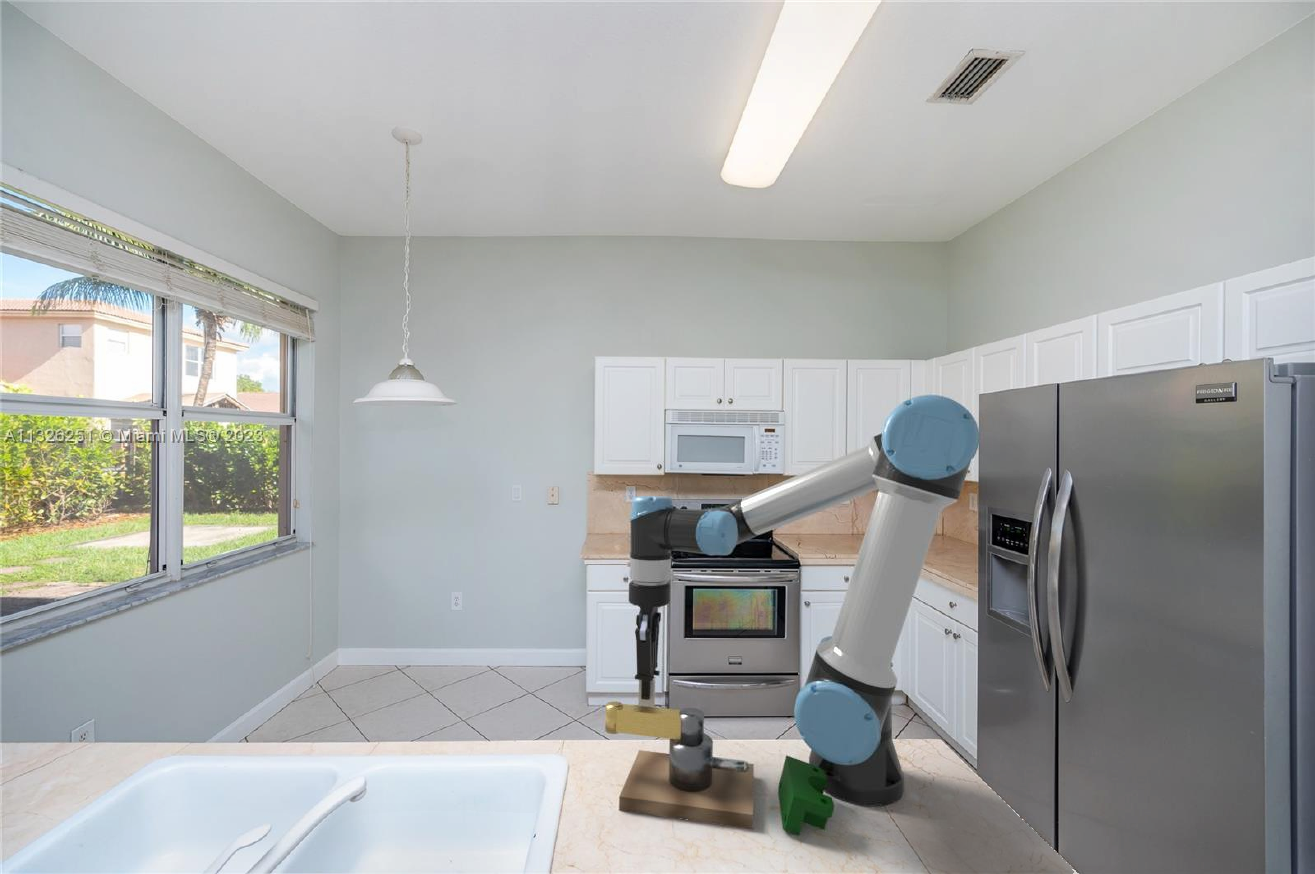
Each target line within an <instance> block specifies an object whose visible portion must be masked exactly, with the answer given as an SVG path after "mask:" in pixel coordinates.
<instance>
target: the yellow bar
mask: <svg viewBox="0 0 1315 874" xmlns="http://www.w3.org/2000/svg"><path fill="white" fill-rule="evenodd" d="M604 722H605V723H604V724H605V725H604V731H605V733H608V734H612V735H616V734H627V735H636V736H644V737H653V738H660V739H661V738H662V739H668V740H670V739H677V740H680V741H681V742H682V743H684V744H688V745H697V744H700V743H702V742H703V740H704V732H705V731H704V729H705V727H704V726H705V712H704V711H703V710H701V709H699V708H695V707H685V708H682V709H672V708H665V707H657V706H655V707H647V706H638V705H637V704H626V703H622V702H619V701H609V702H607V703H606V705H605V721H604Z"/></svg>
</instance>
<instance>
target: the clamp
mask: <svg viewBox="0 0 1315 874" xmlns="http://www.w3.org/2000/svg"><path fill="white" fill-rule="evenodd" d="M826 781H827V779H826V776H825V773H824V771H823V770H822V769H821V768H819V767H817V766H815V765H812V764H809V762H806V761H804V760H800V759H799V758H796V757H792V756H789V755H786V756H785V759H784V763H783V766H782V771H781V774H780V779H779V781H778V782H779V783H778V789H777V790H778V791H777V793H778V800H779V801H778V802H779V811H780V817H781V825H782V830H783V831H786V832H789V833H791V834H793V835H797V836H799V835H800V834H801V831H802V828H803V824H806V825H809V826H812V827H814V828H817V829H818V830H819V829H820V830H826V826H827V822H828V819H831V818H832V817H833V813H834V809H835V802H834V800H833V797H832V796H828V795H827V794H824V792H825V791H824V789H825V785H826Z"/></svg>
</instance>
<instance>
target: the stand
mask: <svg viewBox="0 0 1315 874" xmlns="http://www.w3.org/2000/svg"><path fill="white" fill-rule="evenodd" d="M747 763H748V762H747ZM748 764H749V770H748V771H747V772H737V771H729V770H721V769H713V768H712V784H711V786H710V787H709V788H707V789H706V790H703V791H699V792H686V791H682V790H679V789H677V788H675V787H674V786H672V785H671V783H670V782H669V753H666V752H656V751H650V750H641V749H639V750H638V752H637V755H636V757H635V759H634V762H633V764H632V766H631V769H630V771H629V773H628V775H627V778H626V780H625V782H624V784H623V787H622V790H621V791H620V795H619V797H618V800H619V801H618V802H619V803H618V810H619V811H623V812H630V813H636V814H637V813H638V814H644V815H651V816H657V817H658V816H659V817H664V818H673V819H677V818H678V820H679V818H682V819H681V820H684V819H688V820H687V821H691V820H692V822H693V821H694V822H698V821H699V823H705V822H708V823H707V824H714V825H721V826H727V827H734V828H741V829H748V830H753V829H754V779H755V778H754V771H755V769H754V763H748Z"/></svg>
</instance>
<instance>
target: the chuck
mask: <svg viewBox="0 0 1315 874" xmlns="http://www.w3.org/2000/svg"><path fill="white" fill-rule="evenodd" d="M668 744H669V745H668V746H669V749H668V751H669V753H668V754H669V782H670V783H671V785H672V786H674V787H675V788H677V789H679V790H682V791H686V792H699V791H703V790H706V789H707V788H709V787H710V786H711V784H712V768H713V769H721V770H729V771H737V772H747V771H748V770H749V764H750V763H749V764H748V761H746V760H743V759H735V758H725V757H719V756H714V755H713V753H714V752H713V747H714V741H713V739H712V737H711V736H709V735H708V734H707V733H704V740H703V742H702V743H700V744H697V745H688V744H684V743H682V742H681V741H680V740H677V739H669V743H668Z"/></svg>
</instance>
